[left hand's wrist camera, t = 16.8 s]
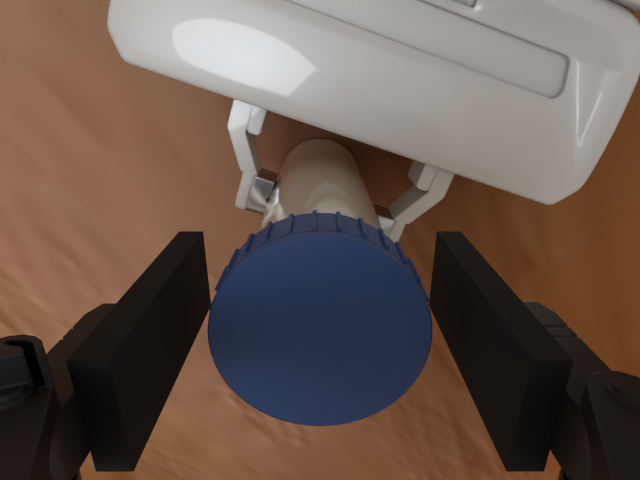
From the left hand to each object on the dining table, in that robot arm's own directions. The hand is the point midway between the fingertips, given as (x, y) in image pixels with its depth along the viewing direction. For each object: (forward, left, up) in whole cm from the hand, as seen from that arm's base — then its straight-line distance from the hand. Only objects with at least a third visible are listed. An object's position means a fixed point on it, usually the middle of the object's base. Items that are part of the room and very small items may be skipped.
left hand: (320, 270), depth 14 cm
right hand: (-1, +1, -6) cm, 7 cm away
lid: (0, 0, +4) cm, 4 cm away
